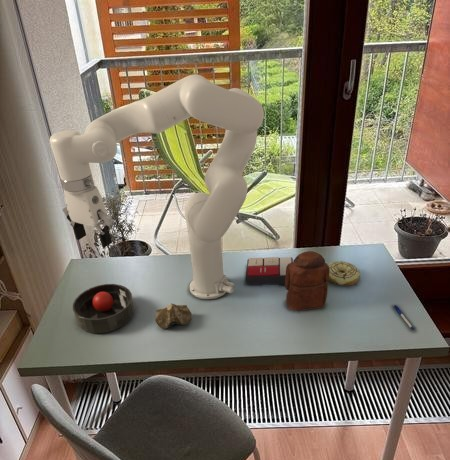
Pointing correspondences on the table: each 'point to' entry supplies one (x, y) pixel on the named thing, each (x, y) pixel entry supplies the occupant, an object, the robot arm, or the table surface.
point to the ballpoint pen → (403, 316)
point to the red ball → (102, 301)
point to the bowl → (109, 319)
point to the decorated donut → (343, 273)
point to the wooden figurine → (307, 281)
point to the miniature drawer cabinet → (267, 270)
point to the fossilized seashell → (173, 315)
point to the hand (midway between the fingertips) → (94, 241)
